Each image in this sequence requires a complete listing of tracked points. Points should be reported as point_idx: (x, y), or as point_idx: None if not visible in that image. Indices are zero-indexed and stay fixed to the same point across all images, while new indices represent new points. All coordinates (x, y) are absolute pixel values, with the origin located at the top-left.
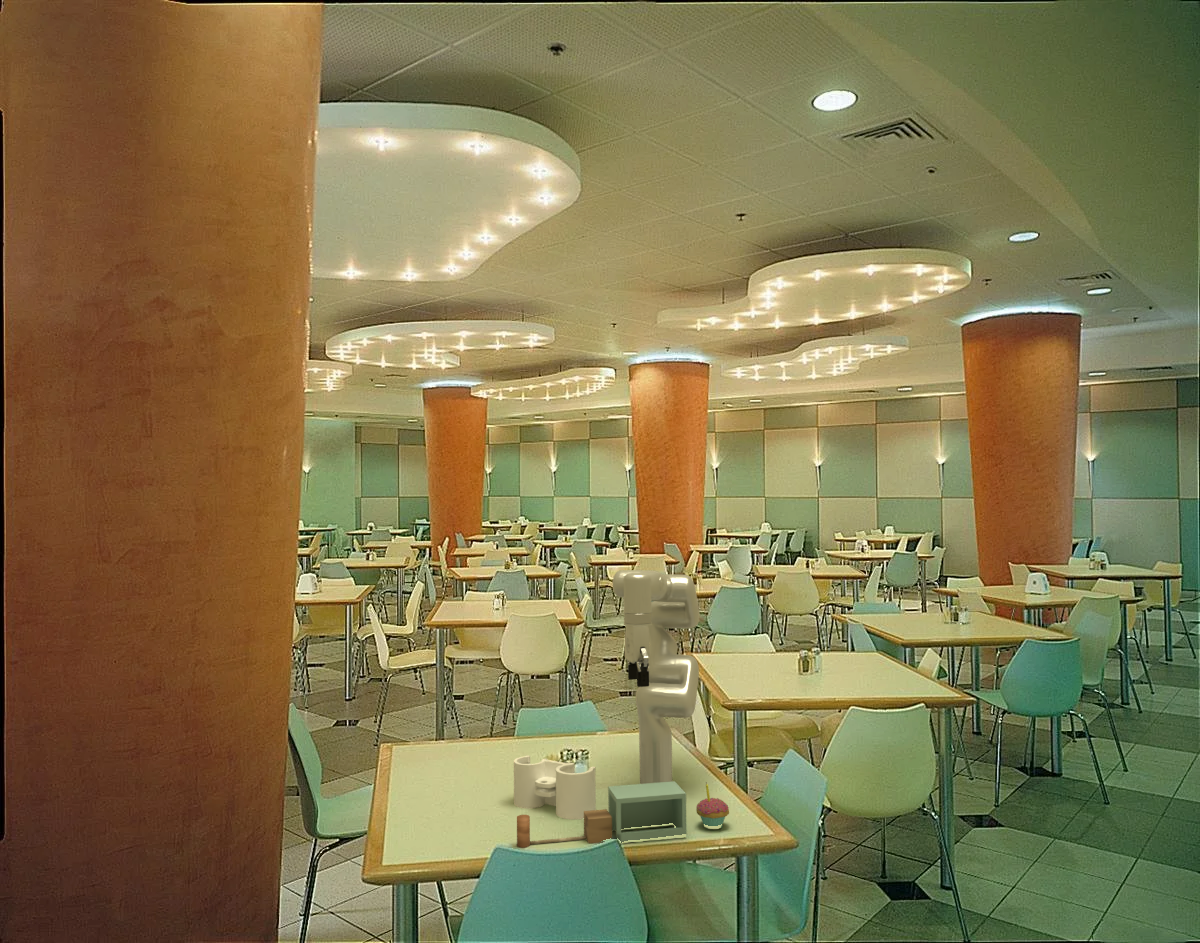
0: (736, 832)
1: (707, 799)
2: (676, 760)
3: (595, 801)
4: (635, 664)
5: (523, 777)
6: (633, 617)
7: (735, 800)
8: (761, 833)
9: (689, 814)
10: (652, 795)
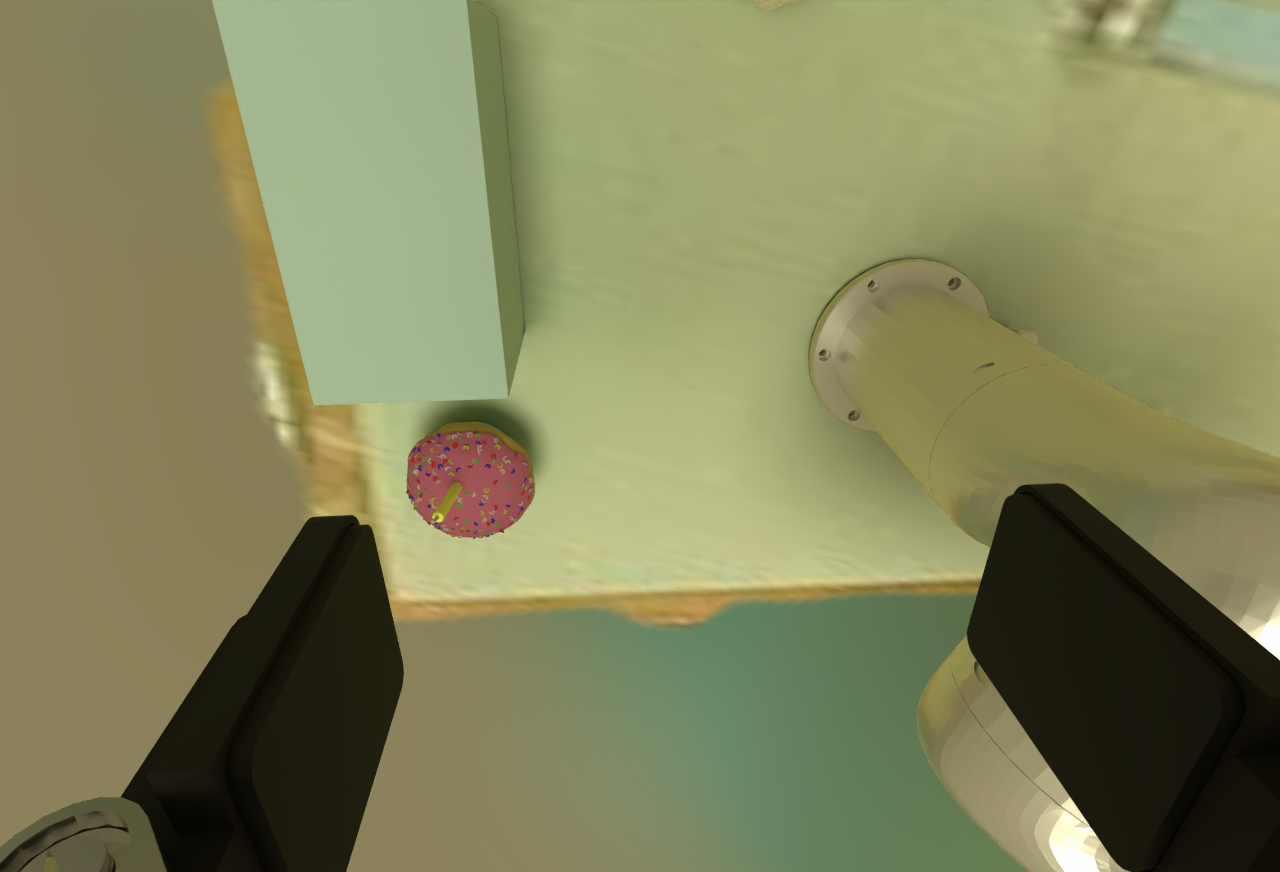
0: None
1: (476, 486)
2: None
3: (769, 3)
4: (1197, 840)
5: None
6: None
7: (713, 577)
8: (401, 569)
9: (617, 406)
10: (279, 233)
